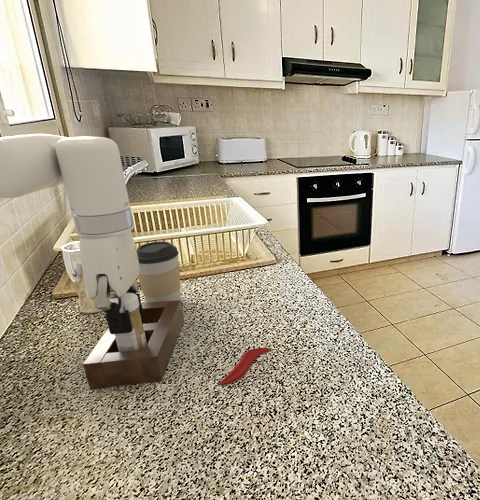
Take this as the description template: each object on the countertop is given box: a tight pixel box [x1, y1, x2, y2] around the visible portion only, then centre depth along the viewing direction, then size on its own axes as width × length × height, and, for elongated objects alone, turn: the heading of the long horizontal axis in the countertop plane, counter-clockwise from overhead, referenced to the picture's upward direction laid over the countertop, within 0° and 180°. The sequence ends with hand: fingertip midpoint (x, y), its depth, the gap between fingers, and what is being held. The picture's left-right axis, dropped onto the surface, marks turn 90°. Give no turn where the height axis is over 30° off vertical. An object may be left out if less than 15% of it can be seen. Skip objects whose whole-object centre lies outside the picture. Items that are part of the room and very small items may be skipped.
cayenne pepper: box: [217, 347, 272, 386], centre depth 67 cm, size 12×5×2 cm, turn 140°
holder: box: [82, 299, 185, 390], centre depth 70 cm, size 11×19×5 cm, turn 12°
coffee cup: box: [136, 240, 182, 303], centre depth 83 cm, size 9×9×15 cm
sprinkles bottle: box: [110, 293, 147, 352], centre depth 64 cm, size 5×5×14 cm
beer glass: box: [61, 240, 103, 315], centre depth 82 cm, size 7×7×15 cm
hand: (127, 322), depth 64 cm, fingers open, 4 cm apart
